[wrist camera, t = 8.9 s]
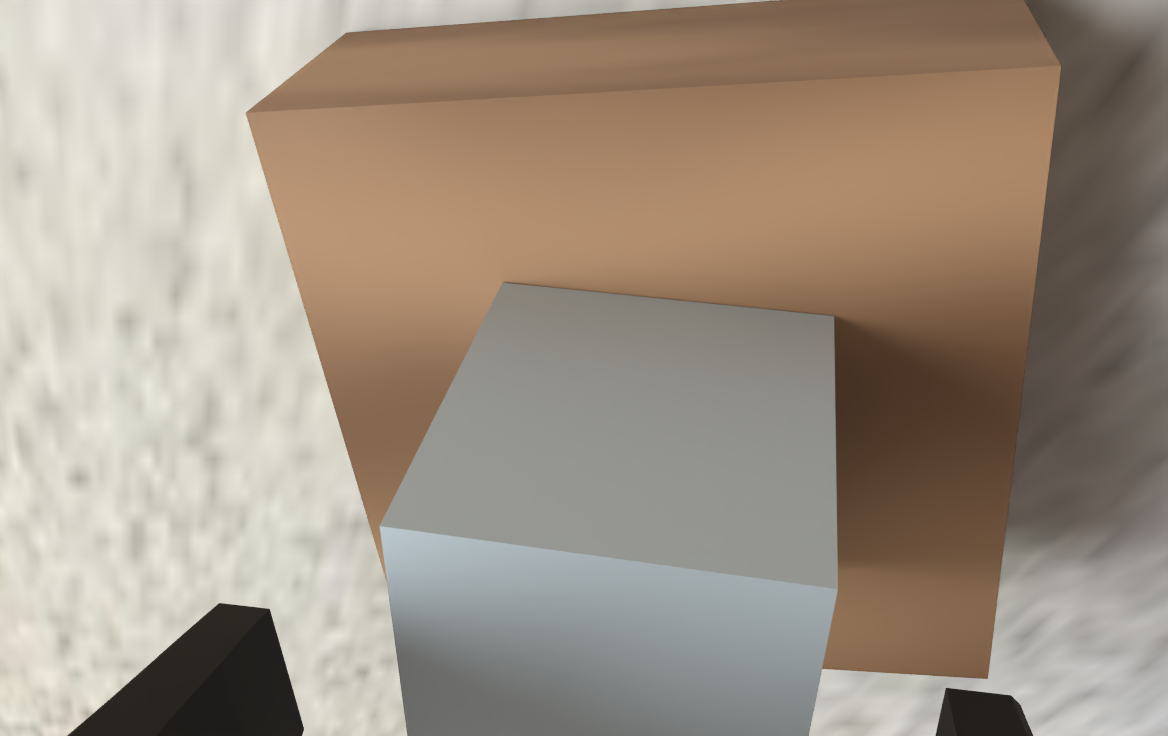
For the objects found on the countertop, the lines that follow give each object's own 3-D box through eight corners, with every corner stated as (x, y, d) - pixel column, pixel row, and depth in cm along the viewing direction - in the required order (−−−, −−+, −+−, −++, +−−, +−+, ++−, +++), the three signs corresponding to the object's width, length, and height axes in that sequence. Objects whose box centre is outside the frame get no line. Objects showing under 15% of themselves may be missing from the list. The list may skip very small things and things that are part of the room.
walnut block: (962, 515, 20) (988, 679, 17) (465, 500, 23) (405, 642, 19) (1010, -24, 15) (1062, 66, 12) (355, 25, 17) (246, 112, 14)
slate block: (793, 563, 17) (784, 861, 13) (511, 525, 17) (415, 795, 13) (834, 315, 14) (837, 588, 10) (502, 282, 15) (378, 526, 11)
